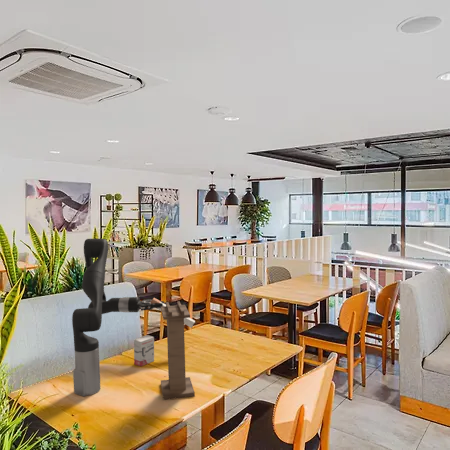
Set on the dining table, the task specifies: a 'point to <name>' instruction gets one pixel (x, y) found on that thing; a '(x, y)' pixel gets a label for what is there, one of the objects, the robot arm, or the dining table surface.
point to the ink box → (143, 350)
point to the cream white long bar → (187, 321)
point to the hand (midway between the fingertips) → (163, 304)
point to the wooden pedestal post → (176, 353)
